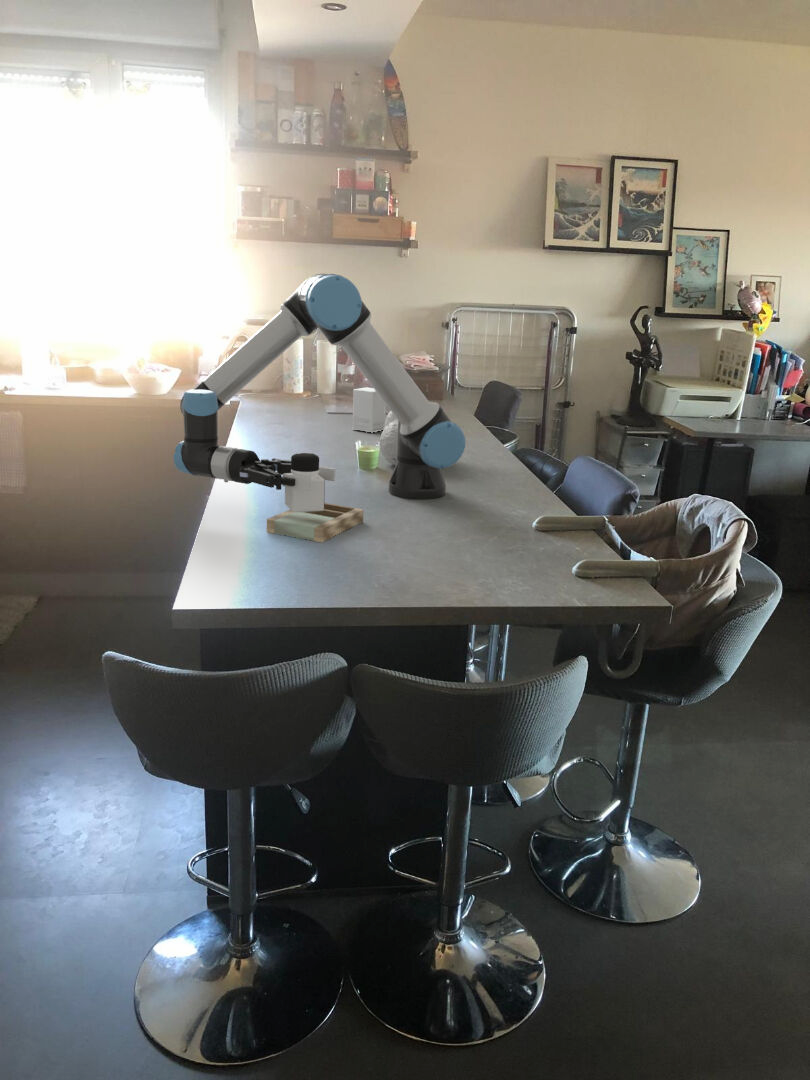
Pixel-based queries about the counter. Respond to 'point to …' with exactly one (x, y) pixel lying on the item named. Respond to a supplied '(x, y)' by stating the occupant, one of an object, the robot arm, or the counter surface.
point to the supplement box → (368, 410)
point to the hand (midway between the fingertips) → (322, 479)
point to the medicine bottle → (315, 497)
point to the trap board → (315, 522)
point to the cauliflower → (390, 439)
